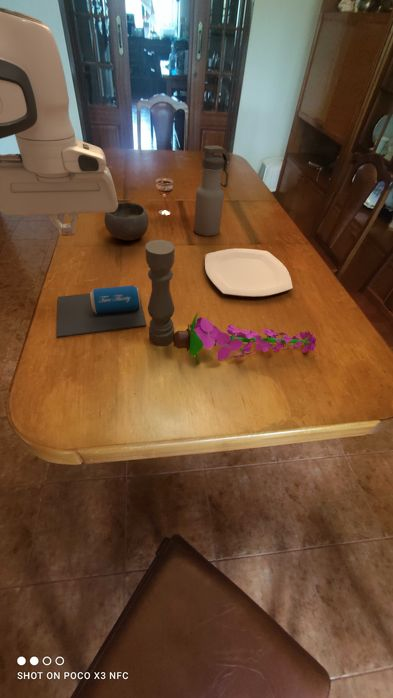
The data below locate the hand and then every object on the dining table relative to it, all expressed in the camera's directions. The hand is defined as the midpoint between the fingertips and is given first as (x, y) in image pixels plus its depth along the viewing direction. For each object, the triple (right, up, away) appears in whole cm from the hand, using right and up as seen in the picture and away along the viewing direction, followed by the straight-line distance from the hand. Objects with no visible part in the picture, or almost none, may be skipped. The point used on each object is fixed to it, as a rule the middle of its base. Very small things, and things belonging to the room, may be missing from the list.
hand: (67, 234), depth 62 cm
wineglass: (+12, +34, +68) cm, 77 cm away
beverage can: (-2, -10, +20) cm, 23 cm away
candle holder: (+16, -20, +18) cm, 31 cm away
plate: (+41, +1, +40) cm, 58 cm away
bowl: (+1, +18, +52) cm, 55 cm away
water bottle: (+29, +23, +60) cm, 70 cm away
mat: (-1, -12, +23) cm, 26 cm away
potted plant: (+37, -23, +17) cm, 46 cm away
